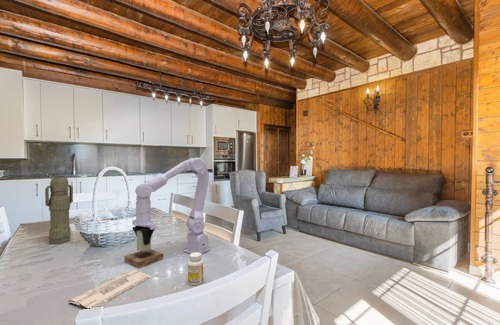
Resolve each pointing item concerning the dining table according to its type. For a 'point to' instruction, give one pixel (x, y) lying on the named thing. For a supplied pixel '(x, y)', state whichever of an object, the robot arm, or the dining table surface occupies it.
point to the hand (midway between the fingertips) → (143, 243)
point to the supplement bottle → (195, 269)
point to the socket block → (143, 258)
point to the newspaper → (111, 289)
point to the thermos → (59, 209)
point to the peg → (140, 242)
